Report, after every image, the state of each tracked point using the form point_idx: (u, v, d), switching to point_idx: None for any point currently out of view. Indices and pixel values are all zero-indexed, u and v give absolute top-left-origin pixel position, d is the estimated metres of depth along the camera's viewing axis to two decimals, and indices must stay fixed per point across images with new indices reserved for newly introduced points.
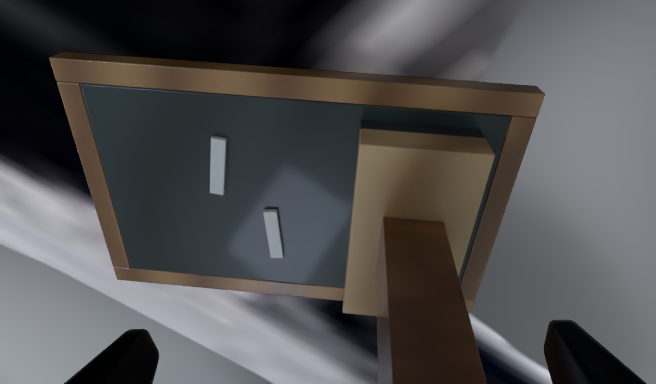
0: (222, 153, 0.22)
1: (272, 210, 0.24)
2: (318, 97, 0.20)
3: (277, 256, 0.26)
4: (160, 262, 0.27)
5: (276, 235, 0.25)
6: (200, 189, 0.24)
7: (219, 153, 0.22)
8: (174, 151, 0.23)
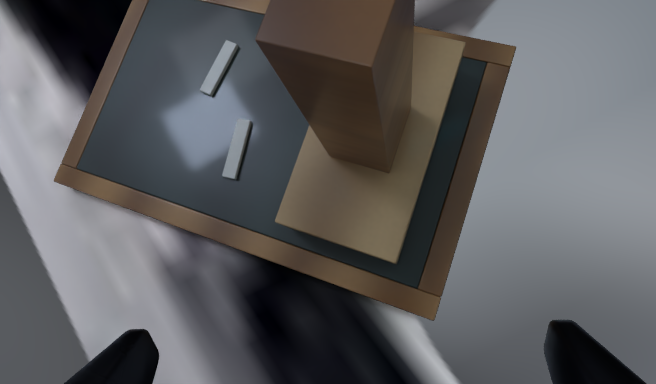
0: (228, 54, 0.25)
1: (246, 120, 0.24)
2: None
3: (229, 175, 0.23)
4: (109, 166, 0.25)
5: (239, 147, 0.24)
6: (192, 89, 0.25)
7: (226, 53, 0.25)
8: (190, 51, 0.26)
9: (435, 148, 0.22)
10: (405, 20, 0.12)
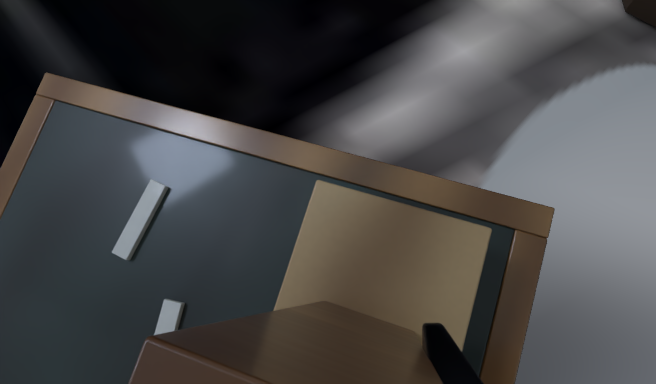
0: (154, 200, 0.18)
1: (177, 301, 0.17)
2: (288, 160, 0.18)
3: None
4: None
5: None
6: (102, 248, 0.18)
7: (150, 200, 0.18)
8: (102, 190, 0.19)
9: None
10: None
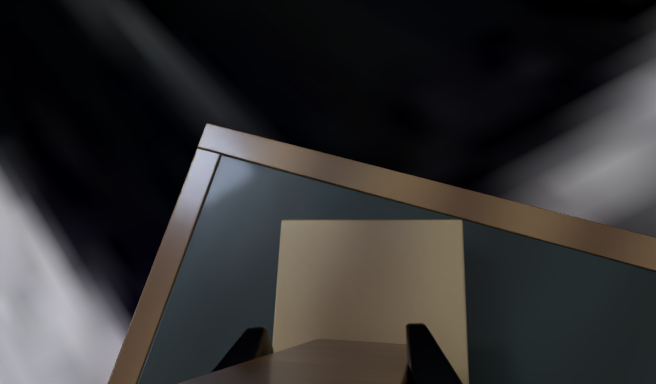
0: None
1: None
2: (506, 225, 0.16)
3: None
4: None
5: None
6: None
7: None
8: None
9: None
10: None
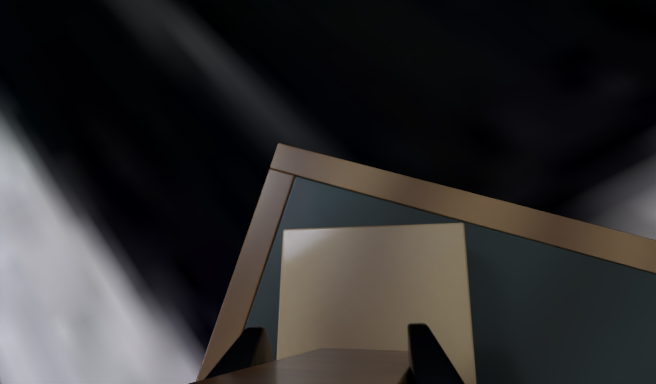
0: None
1: None
2: (602, 253, 0.15)
3: None
4: None
5: None
6: None
7: None
8: None
9: None
10: None
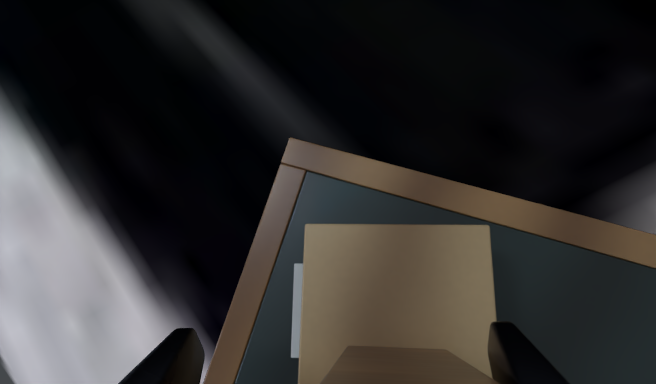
0: None
1: None
2: (619, 252, 0.15)
3: None
4: None
5: None
6: None
7: None
8: None
9: None
10: None
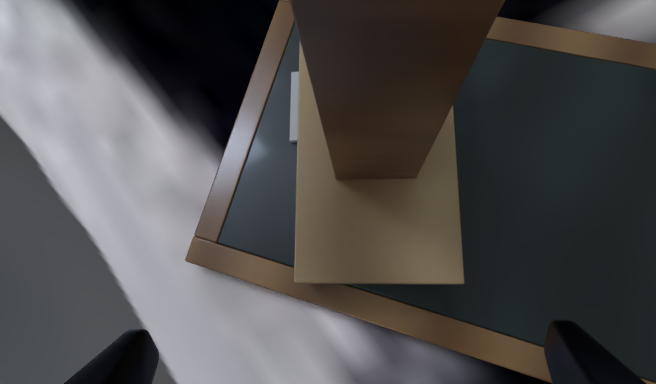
0: None
1: None
2: (553, 46, 0.19)
3: None
4: (265, 239, 0.19)
5: None
6: None
7: None
8: None
9: None
10: None
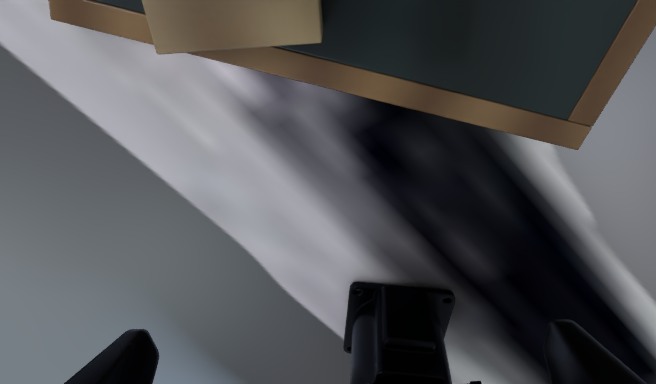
0: None
1: None
2: None
3: None
4: None
5: None
6: None
7: None
8: None
9: None
10: None
